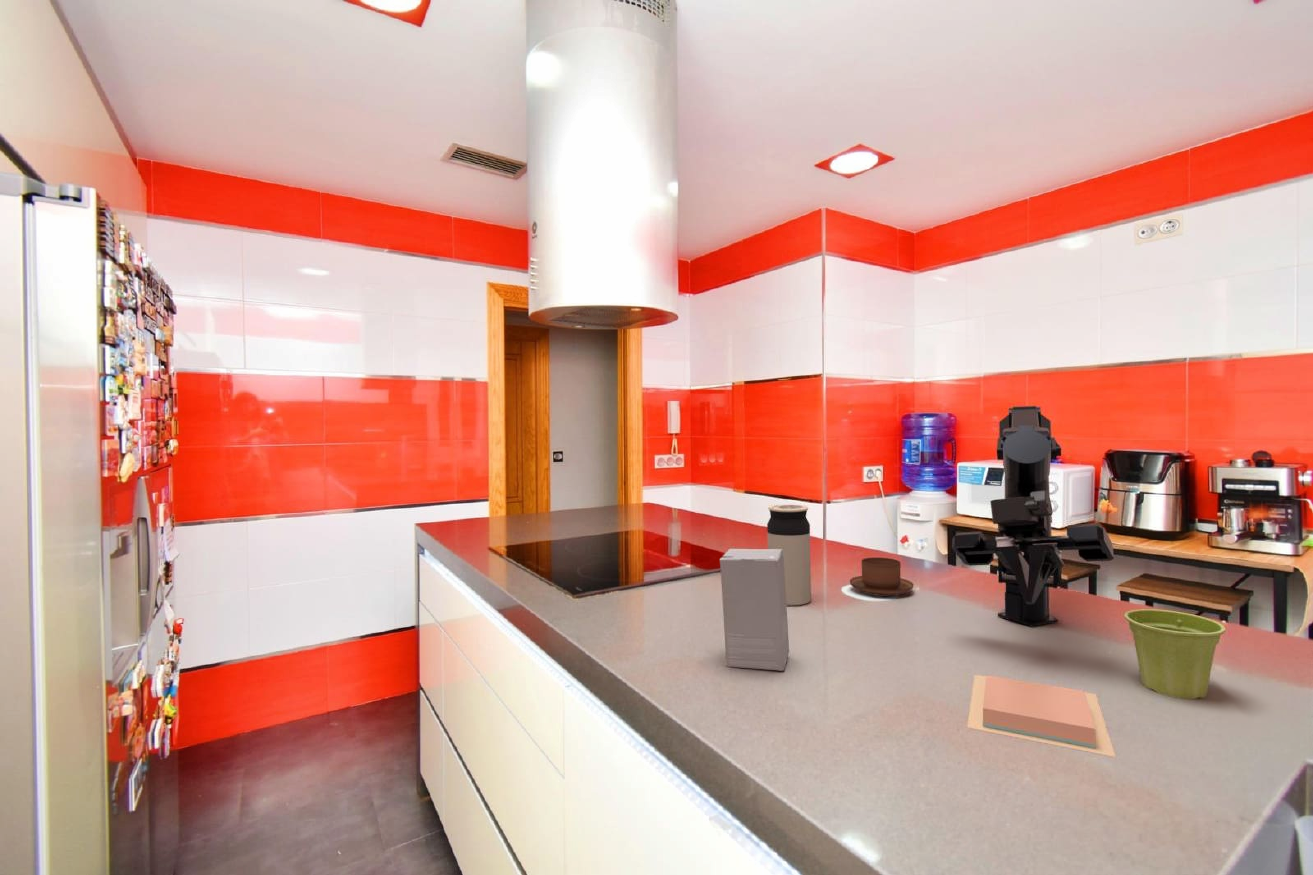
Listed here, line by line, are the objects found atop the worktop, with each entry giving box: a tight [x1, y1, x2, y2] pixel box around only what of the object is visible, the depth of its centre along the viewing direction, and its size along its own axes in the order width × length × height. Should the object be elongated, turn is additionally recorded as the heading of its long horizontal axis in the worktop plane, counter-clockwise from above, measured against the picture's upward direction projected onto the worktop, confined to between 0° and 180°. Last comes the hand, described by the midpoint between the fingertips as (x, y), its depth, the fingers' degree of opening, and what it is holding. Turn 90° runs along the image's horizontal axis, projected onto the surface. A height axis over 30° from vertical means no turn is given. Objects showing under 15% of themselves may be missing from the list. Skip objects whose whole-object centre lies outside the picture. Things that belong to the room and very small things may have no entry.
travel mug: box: [766, 504, 812, 607], centre depth 118 cm, size 8×8×18 cm
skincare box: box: [719, 548, 790, 672], centre depth 87 cm, size 8×7×16 cm
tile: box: [983, 674, 1096, 749], centre depth 69 cm, size 2×10×10 cm
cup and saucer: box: [849, 557, 914, 597], centre depth 123 cm, size 12×12×6 cm
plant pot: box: [1124, 608, 1226, 700], centre depth 75 cm, size 9×9×9 cm
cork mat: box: [966, 674, 1116, 758], centre depth 70 cm, size 16×13×1 cm
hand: (1029, 602), depth 82 cm, fingers closed
